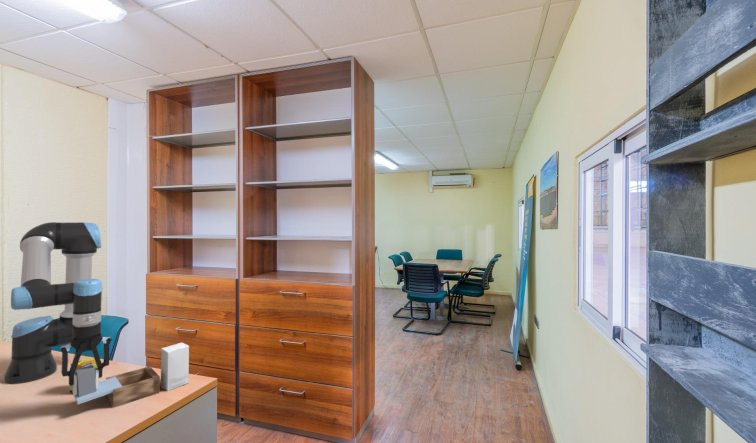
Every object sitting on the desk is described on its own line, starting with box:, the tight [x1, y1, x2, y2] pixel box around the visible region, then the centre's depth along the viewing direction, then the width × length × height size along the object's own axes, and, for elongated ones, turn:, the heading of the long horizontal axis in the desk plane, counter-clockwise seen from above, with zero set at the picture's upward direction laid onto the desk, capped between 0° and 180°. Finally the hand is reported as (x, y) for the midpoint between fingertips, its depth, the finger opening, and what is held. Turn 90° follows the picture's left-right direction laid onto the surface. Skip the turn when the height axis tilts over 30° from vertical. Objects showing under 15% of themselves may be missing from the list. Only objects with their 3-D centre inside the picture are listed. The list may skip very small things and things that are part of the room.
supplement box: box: [69, 357, 97, 394], centre depth 127 cm, size 6×6×11 cm
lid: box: [73, 365, 122, 405], centre depth 117 cm, size 12×11×9 cm
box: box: [105, 366, 161, 408], centre depth 125 cm, size 14×13×6 cm
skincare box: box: [160, 342, 190, 392], centre depth 132 cm, size 8×7×16 cm
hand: (85, 390), depth 115 cm, fingers closed on lid, 5 cm apart
